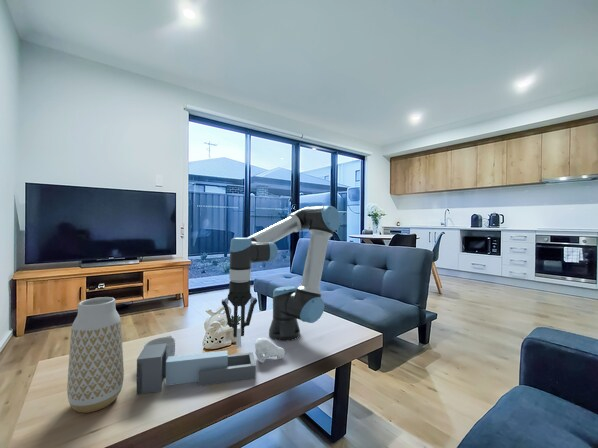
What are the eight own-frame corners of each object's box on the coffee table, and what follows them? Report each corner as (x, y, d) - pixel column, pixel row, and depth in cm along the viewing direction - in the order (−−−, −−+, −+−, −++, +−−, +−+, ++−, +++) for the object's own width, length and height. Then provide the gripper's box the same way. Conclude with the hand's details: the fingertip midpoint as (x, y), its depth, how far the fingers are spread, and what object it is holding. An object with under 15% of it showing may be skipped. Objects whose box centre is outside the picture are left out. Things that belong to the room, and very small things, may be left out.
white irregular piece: (256, 334, 113) (285, 336, 115) (253, 355, 113) (282, 356, 115) (255, 341, 107) (286, 343, 109) (253, 363, 107) (284, 364, 109)
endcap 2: (252, 363, 107) (252, 352, 107) (255, 378, 98) (255, 365, 97) (200, 370, 102) (200, 358, 102) (198, 385, 92) (198, 372, 92)
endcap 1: (166, 374, 99) (167, 343, 99) (160, 391, 89) (161, 356, 89) (145, 377, 97) (145, 345, 97) (136, 394, 87) (136, 359, 87)
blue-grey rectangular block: (227, 372, 101) (227, 350, 101) (227, 378, 98) (227, 355, 98) (168, 379, 96) (168, 356, 96) (165, 386, 92) (165, 362, 92)
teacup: (162, 371, 101) (162, 350, 101) (136, 368, 103) (137, 346, 103) (185, 353, 114) (185, 334, 114) (162, 350, 116) (162, 332, 116)
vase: (105, 384, 93) (105, 293, 92) (133, 394, 87) (134, 298, 87) (56, 409, 80) (56, 304, 80) (86, 424, 75) (86, 311, 74)
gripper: (256, 277, 106) (255, 339, 106) (221, 278, 102) (219, 342, 102) (259, 281, 99) (257, 347, 99) (221, 283, 95) (219, 351, 95)
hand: (238, 344), depth 100 cm, fingers closed
